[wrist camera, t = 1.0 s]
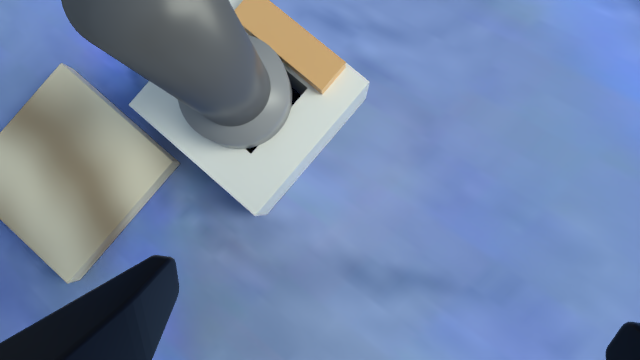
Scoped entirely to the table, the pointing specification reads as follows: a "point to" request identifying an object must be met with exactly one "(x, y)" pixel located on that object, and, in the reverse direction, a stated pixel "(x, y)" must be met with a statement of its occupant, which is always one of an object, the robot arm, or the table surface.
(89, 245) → the birch board
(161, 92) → the socket block
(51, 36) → the table surface
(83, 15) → the plug
